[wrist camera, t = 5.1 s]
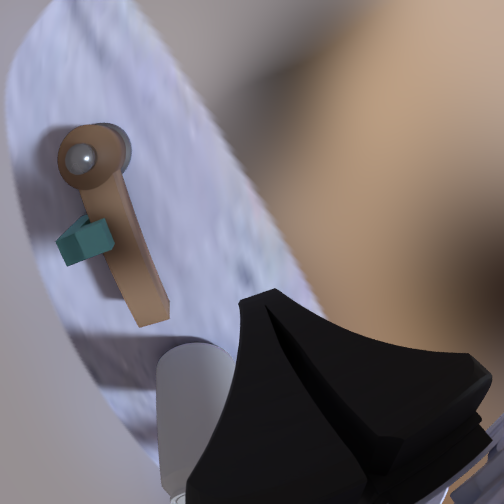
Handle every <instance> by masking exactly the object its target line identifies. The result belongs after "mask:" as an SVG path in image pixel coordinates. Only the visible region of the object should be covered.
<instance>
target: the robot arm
mask: <svg viewBox="0 0 504 504" xmlns="http://www.w3.org/2000/svg"><path fill="white" fill-rule="evenodd" d="M238 305H239V309H240V338H239V347H238V354H237V360H236V366H235V370H234V375H233V379H232V382H231V386H230V390H229V393H228V396H227V399H226V402H225V405H224V408H223V410H222V413H221V416H220V418H219V420H218V423H217V425H216V427H215V429H214V431H213V434H212V436H211V438H210V440H209V442H208V444H207V446H206V448H205V450H204V452H203V454H202V455H201V457H200V459H199V460H198V462H197V464H196V466H195V467H194V469H193V471H192V472H191V474H190V476H189V477H188V479H187V481H186V491H185V504H442V502H443V500H444V498H445V496H446V494H447V491H448V487H449V486H450V485H451V484H453V483H454V482H455V481H456V480H458V479H459V478H460V477H462V476H463V475H464V474H465V473H466V472H467V471H469V470H470V469H471V468H472V467H473V466H474V465H475V464H477V463H478V462H479V461H480V460H481V459H482V458H483V457H484V456H485V455H486V454H487V453H488V452H489V451H490V452H489V454H488V461H487V463H486V464H485V465H484V466H483V467H482V468H481V469H479V470H478V471H477V472H476V473H475V474H473V475H472V476H471V477H470V478H469V479H468V480H466V481H465V482H464V483H463V484H462V485H461V486H459V487H458V488H457V489H456V490H455V491H453V492H452V493H451V495H450V497H451V498H452V500H453V501H454V504H504V413H503V414H502V415H501V416H500V417H499V418H498V419H497V420H496V421H495V422H494V423H493V425H491V426H490V427H489V428H488V429H487V430H486V431H484V429H483V428H482V427H481V426H480V425H479V423H480V422H481V421H482V418H481V417H480V415H478V413H477V412H476V410H477V408H478V406H479V405H480V403H481V402H482V400H483V399H484V397H485V395H486V393H487V392H488V390H489V388H490V386H491V383H492V375H491V373H490V372H489V371H488V370H486V368H484V367H483V366H482V365H481V364H480V363H479V362H478V361H477V360H476V359H475V358H474V357H472V356H471V355H470V354H469V353H448V352H432V351H426V350H419V349H412V348H407V347H402V346H397V345H393V344H388V343H385V342H381V341H378V340H374V339H371V338H368V337H365V336H362V335H359V334H357V333H354V332H351V331H349V330H347V329H344V328H342V327H340V326H338V325H336V324H333V323H332V322H329V321H327V320H326V319H324V318H322V317H320V316H318V315H316V314H315V313H313V312H311V311H309V310H308V309H306V308H304V307H303V306H301V305H300V304H298V303H296V302H295V301H293V300H292V299H290V298H289V297H287V296H286V295H285V294H283V293H282V292H280V291H279V290H277V289H275V288H274V289H271V290H268V291H266V292H263V293H260V294H257V295H254V296H251V297H248V298H245V299H242V300H240V302H239V303H238Z"/></svg>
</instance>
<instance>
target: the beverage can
mask: <svg viewBox="0 0 504 504" xmlns="http://www.w3.org/2000/svg"><path fill="white" fill-rule="evenodd" d="M235 366H236V365H235V362H234V360H233V358H232V357H231V355H230V354H229V353H228V352H226V351H225V350H224V349H222V348H220V347H218V346H215V345H212V344H208V343H187V344H183V345H179V346H177V347H174V348H172V349H171V350H169V351H168V352H166V353H165V354H164V355H163V356H162V357H161V358H160V360H159V362H158V364H157V367H156V411H157V435H158V451H159V464H160V475H161V484H162V487H163V489H164V490H165V491H166V492H167V493H168V494H169V495H170V496H171V497H170V503H171V504H185V491H186V481H187V479H188V477H189V476H190V474H191V472H192V471H193V469H194V467H195V466H196V464H197V462H198V460H199V459H200V457H201V455H202V454H203V452H204V450H205V448H206V446H207V444H208V442H209V440H210V438H211V436H212V434H213V431H214V429H215V427H216V425H217V423H218V420H219V418H220V416H221V413H222V410H223V408H224V405H225V402H226V399H227V396H228V393H229V390H230V386H231V382H232V379H233V375H234V370H235Z"/></svg>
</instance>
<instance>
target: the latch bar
mask: <svg viewBox="0 0 504 504" xmlns="http://www.w3.org/2000/svg"><path fill="white" fill-rule="evenodd" d="M82 143H88V144H90V145H92V146H93V147H94V148H95V149H96V152H97V162H96V165H95V166H94V168H93V169H92V170H90V171H88V172H86V173H84V174H81V175H75V174H72V173H71V172H70V171H69V170H68V169H67V167H66V164H65V157H66V154H67V152H68V150H69V149H70V148H71V147H72V146H74V145H76V144H82ZM125 159H126V145H125V142H124V140H123V138H122V136H121V135H120V134H119V133H118V132H117V131H116V130H114V129H113V128H110V127H107V126H99V125H83V126H80V127H77V128H75V129H74V130H72V131H71V132H70V133H69V134H68V135H67V136H66V137H65V138H64V140H63V141H62V143H61V146H60V148H59V152H58V168H59V171H60V174H61V176H62V177H63V179H64V180H65V181H66V182H67V183H68V184H69V185H70V186H72V187H73V188H76V189H79V192H80V195H81V198H82V201H83V204H84V206H85V209H86V212H87V215H88V217H89V220H90V223H93V222H95V221H98V220H100V219H103V218H105V220H106V223H107V225H108V228H109V230H110V233H111V235H112V238H113V240H114V242H115V244H114V246H113V248H112V250H109V251H107V252H104V253H103V255H104V257H105V259H106V261H107V264H108V266H109V268H110V270H111V273H112V275H113V277H114V279H115V281H116V283H117V285H118V287H119V290H120V292H121V294H122V296H123V298H124V300H125V302H126V304H127V306H128V308H129V310H130V311H131V313H132V315H133V317H134V319H135V321H136V323H137V325H138V326H139V328H140V327H144V326H147V325H151V324H154V323H158V322H161V321H165V320H168V319H170V301H169V299H168V296H167V294H166V292H165V290H164V287H163V285H162V282H161V280H160V278H159V275H158V273H157V270H156V268H155V265H154V263H153V260H152V258H151V255H150V253H149V250H148V248H147V245H146V242H145V240H144V237H143V234H142V232H141V229H140V226H139V223H138V221H137V218H136V215H135V212H134V209H133V206H132V203H131V200H130V197H129V194H128V191H127V188H126V185H125V182H124V179H123V176H122V172H121V168H122V167H123V165H124V162H125Z"/></svg>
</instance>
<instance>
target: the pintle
mask: <svg viewBox="0 0 504 504" xmlns="http://www.w3.org/2000/svg"><path fill="white" fill-rule="evenodd" d="M95 125H99V126H107V127H110V128H113V129H114V130H116V131H117V132H118V133H119V134H120V135H121V136H122V138H123V140H124V142H125V145H126V159H125V162H124V165H123V167H122V168H121V172H122V174H123V173H124V172H125V170H126V169H127V167H128V165H129V163H130V159H131V154H132V148H131V142H130V140H129V137H128V135H127V134H126V133H125V131H124V130H123V129H121V128H120V127H118V126H116V125H114V124H110V123H99V124H95ZM96 162H97V152H96V149H95V148H94V147H93V146H92V145H90V144H88V143H82V144H76V145H74V146H72V147H71V148H70V149H69V150H68V152H67V154H66V157H65V164H66V167H67V169H68V170H69V171H70V172H71V173H72V174H75V175H81V174H84V173H86V172H88V171H90V170H92V169H93V168H94V166H95V165H96Z"/></svg>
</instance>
